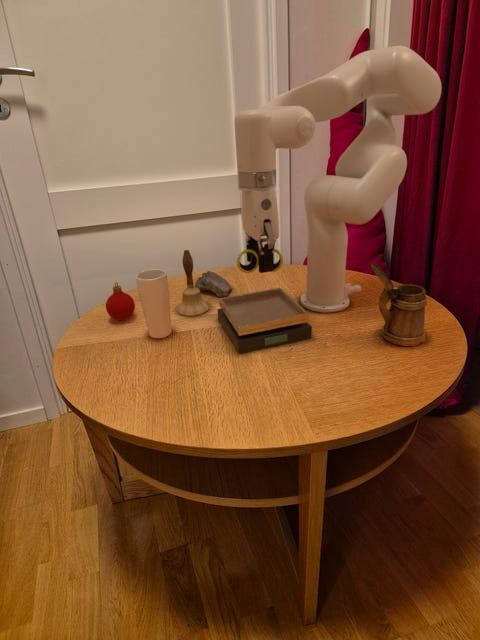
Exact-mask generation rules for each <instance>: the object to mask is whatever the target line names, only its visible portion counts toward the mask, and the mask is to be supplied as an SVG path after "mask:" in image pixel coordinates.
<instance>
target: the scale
mask: <svg viewBox="0 0 480 640" xmlns="http://www.w3.org/2000/svg"><path fill="white" fill-rule="evenodd" d="M217 320H218V323H219V324H220V325H221V327H222V328H223V330H224V332H225V334H226V336H227V337H228V339H229V340H230V342H231V343H232V345H233V347H234V348H235V350H236V352H237V353H238V355H240V354H245V353H249V352H254V351H259V350H263V349H268V348H272V347H277V346H281V345H286V344H287V345H288V344H291V343H296V342H301V341H305V340H309V339H312V333H313V332H312V331H313V329H312V327H313V326H312V325H311V324H309V323H310V322H306V323H301V324H296V325H291V326H286V327H281V328H276V329H271V330H266V331H261V332H256V333H251V334H246V335H241V336H239V335H238V333H237V332H236V330H235V328H234V327H233V325H232V324H231V322H230V321H229V319H228V318H227V316H226V315H225V313H224V312H223V310H222V309H221V308H217Z"/></svg>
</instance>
